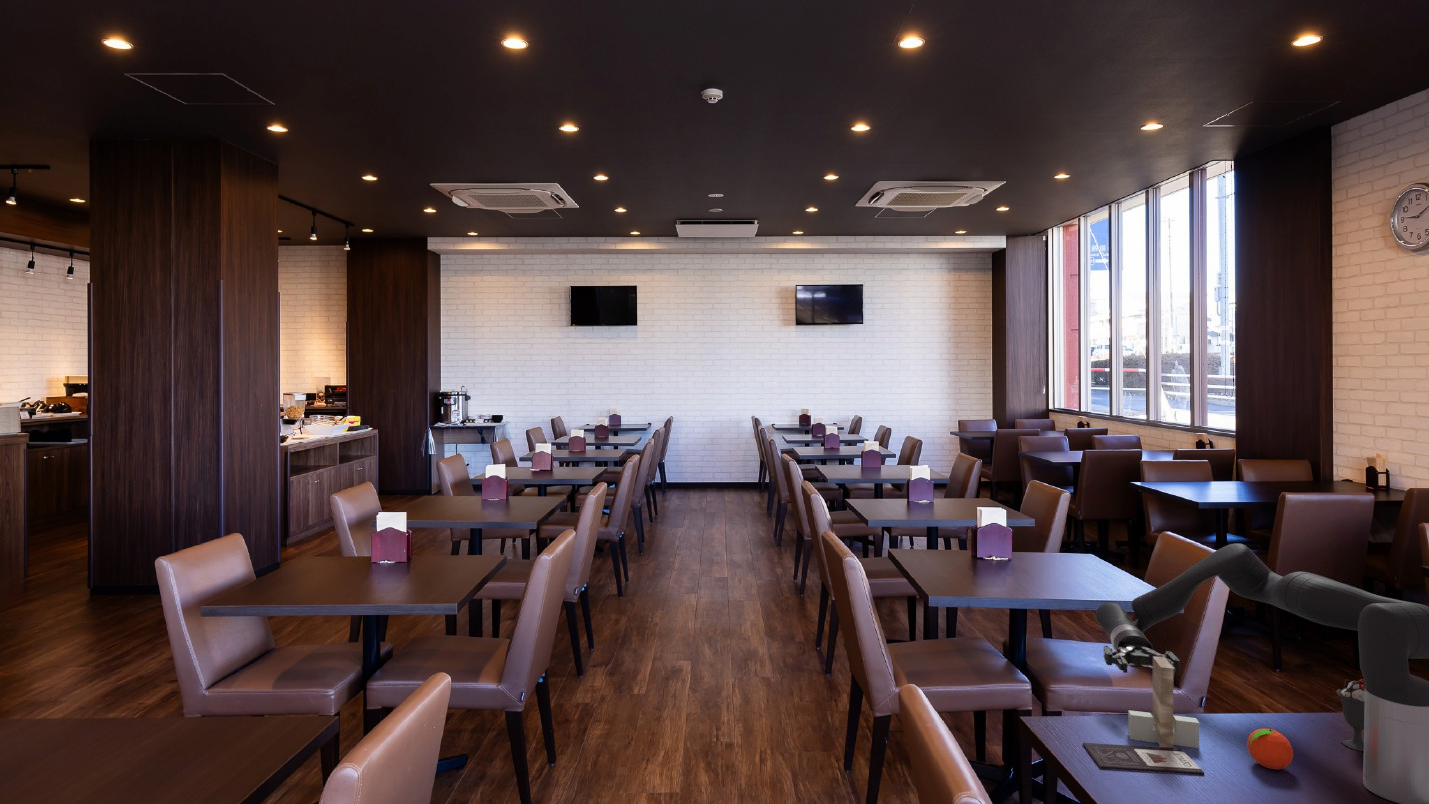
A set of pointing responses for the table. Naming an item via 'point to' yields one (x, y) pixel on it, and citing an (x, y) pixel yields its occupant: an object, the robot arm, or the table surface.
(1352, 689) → the sundae
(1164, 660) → the tapered block
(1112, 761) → the chocolate bar
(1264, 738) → the clementine
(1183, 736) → the slotted rail
